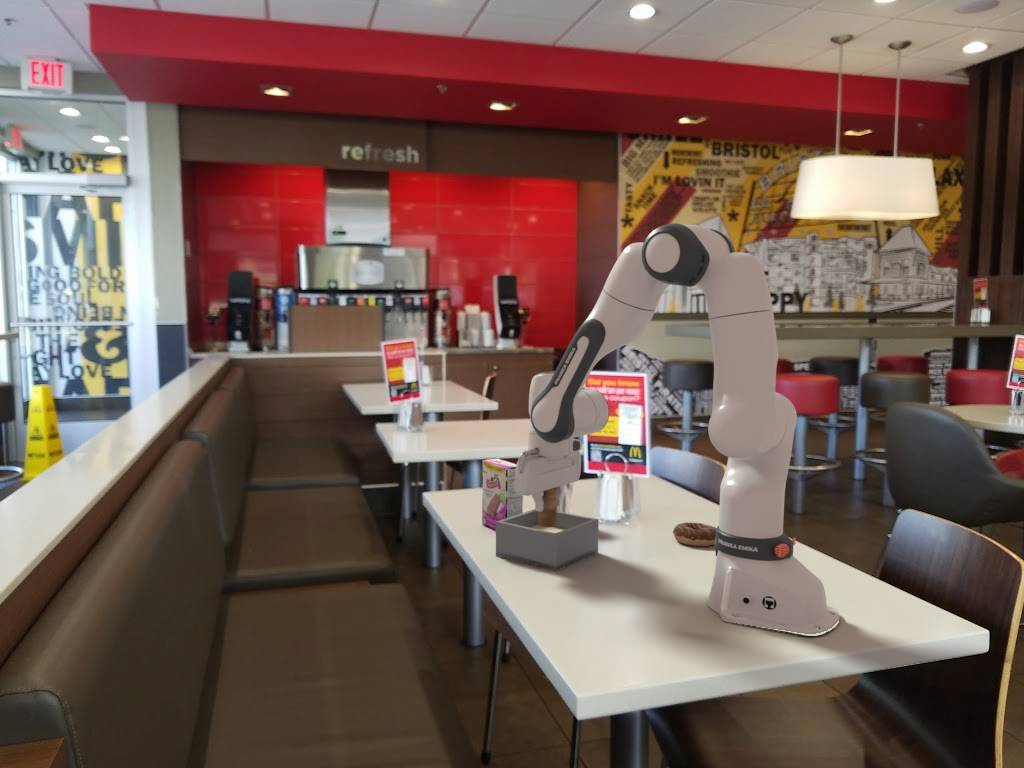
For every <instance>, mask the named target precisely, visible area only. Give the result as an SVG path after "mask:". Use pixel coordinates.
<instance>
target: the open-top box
mask: <svg viewBox="0 0 1024 768" xmlns="http://www.w3.org/2000/svg"><path fill="white" fill-rule="evenodd" d="M599 522H600V519H598V518H594V517H590V516H589V517H588V516H584V515H583V516H582V515H579V514H573V513H570V514H569V513H564V512H559V511H557V517H556V526H553V527H543V526H539V525H538V511H536V510H535V508H534V509H531V510H528V511H525V512H522V513H521V514H518V515H515V516H512V517H509V518H506V519H503V520H500V521H497V522H496V530H495V557H500V558H503V559H507V558H508V560H512V561H515V562H519V563H523V562H524V564H527V565H530V564H531V565H532V566H534V565H536V566H535V567H538V566H539V568H542V567H543V568H542V569H546V568H547V569H546V570H550V569H551V571H555V572H557V570H558V571H560V570H562V569H565V568H566V567H569V566H572V565H573V564H576V563H578V562H580V561H583V560H585V559H587V558H589V557H591V556H593V555H596V554H598V553H599V527H600V526H599ZM564 567H565V568H564Z"/></svg>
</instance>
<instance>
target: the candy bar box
mask: <svg viewBox="0 0 1024 768" xmlns="http://www.w3.org/2000/svg"><path fill="white" fill-rule="evenodd" d="M516 465H517V463H513V462H510V461H507V460H505V459H501V458H490V459H483V460H482V465H481V468H482V471H481V472H482V475H481V476H482V477H481V478H482V481H481V482H482V483H481V484H482V486H481V487H482V488H481V489H482V494H481V495H482V497H481V500H482V506H481V507H482V508H481V509H482V510H481V512H482V515H481V516H482V519H481V520H482V523H481V525H483V526H485V527H487V528H489V529H491V530H494V531H496V522H497V521H500V520H503V519H506V518H509V517H512V516H515V515H518V514H521V513H523V506H524V505H523V503H524V502H523V500H524V499H523V496H524V495H520V494H517V493H516V492H515V490H514V480H515V471H516Z"/></svg>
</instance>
